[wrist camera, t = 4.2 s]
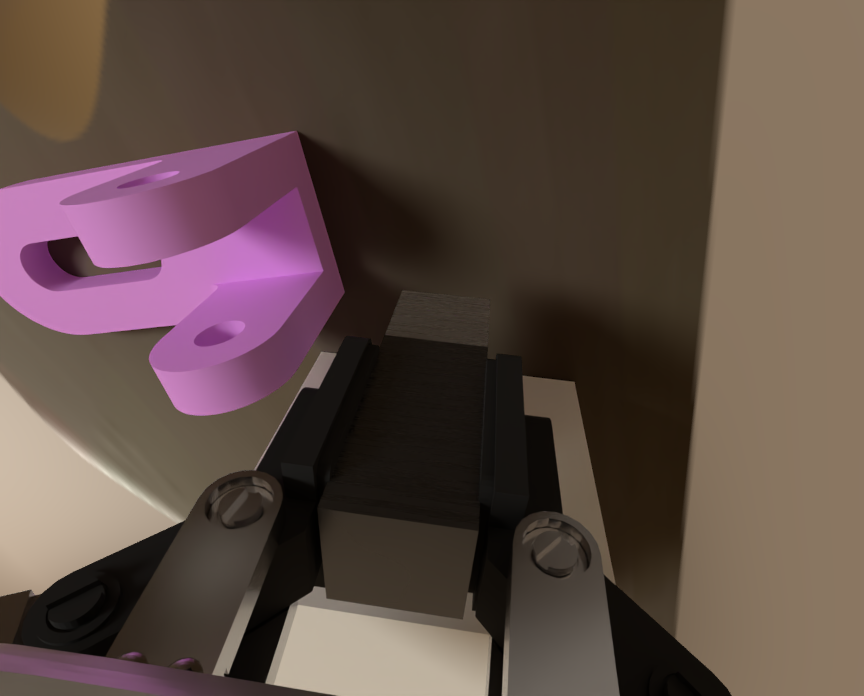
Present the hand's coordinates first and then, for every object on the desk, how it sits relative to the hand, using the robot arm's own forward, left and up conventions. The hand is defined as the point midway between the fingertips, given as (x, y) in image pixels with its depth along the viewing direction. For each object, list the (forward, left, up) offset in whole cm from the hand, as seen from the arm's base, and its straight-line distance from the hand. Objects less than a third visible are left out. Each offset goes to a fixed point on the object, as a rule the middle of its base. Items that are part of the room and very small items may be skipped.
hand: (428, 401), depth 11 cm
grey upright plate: (+5, 0, -3) cm, 6 cm away
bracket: (0, -11, -7) cm, 13 cm away
